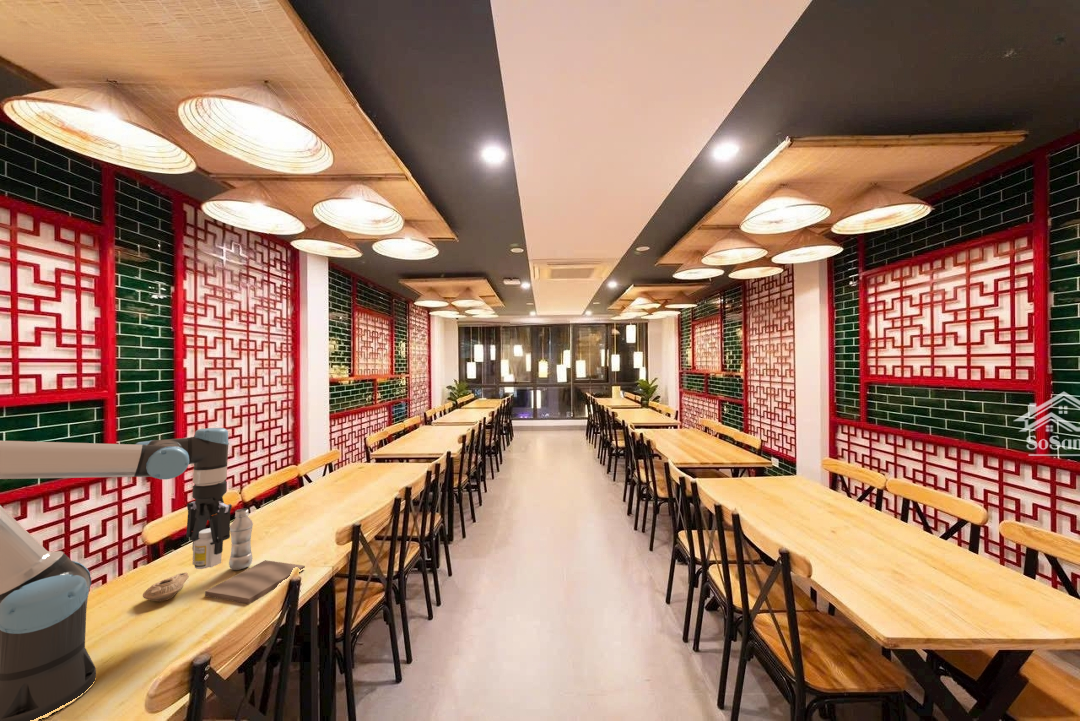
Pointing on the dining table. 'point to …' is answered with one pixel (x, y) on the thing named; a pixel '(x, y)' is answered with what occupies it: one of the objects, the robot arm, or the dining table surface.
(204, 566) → the supplement bottle
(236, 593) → the serving board
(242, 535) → the plastic bottle
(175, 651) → the dining table surface
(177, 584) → the pottery oil lamp
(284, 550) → the dining table surface
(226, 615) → the dining table surface
